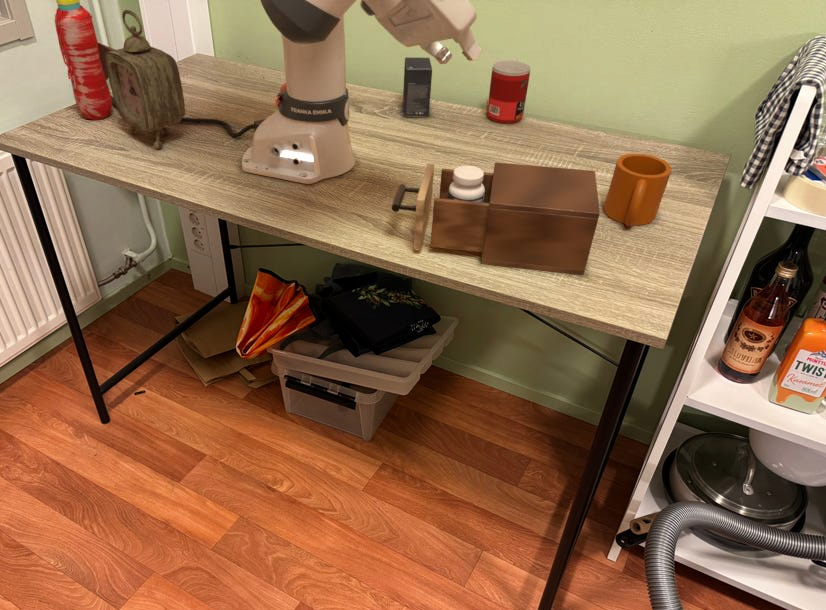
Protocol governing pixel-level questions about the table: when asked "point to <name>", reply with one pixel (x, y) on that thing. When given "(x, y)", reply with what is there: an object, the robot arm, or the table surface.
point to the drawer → (447, 213)
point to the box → (417, 87)
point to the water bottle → (83, 59)
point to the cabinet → (541, 218)
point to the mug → (636, 189)
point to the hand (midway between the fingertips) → (461, 58)
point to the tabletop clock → (145, 84)
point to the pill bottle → (467, 184)
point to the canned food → (508, 91)
